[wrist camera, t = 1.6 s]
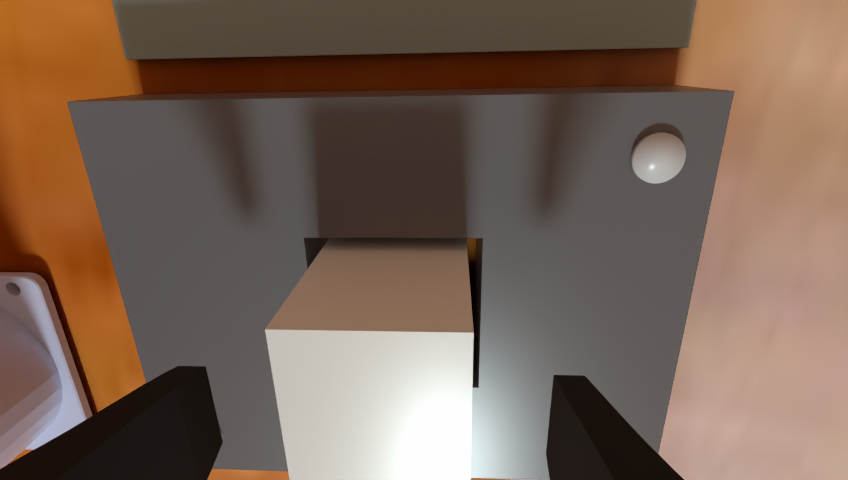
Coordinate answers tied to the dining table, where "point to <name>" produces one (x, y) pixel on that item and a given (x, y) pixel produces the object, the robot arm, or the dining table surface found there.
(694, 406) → the dining table surface
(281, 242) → the plate
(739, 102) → the dining table surface
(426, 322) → the plug
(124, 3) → the mat
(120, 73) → the dining table surface
